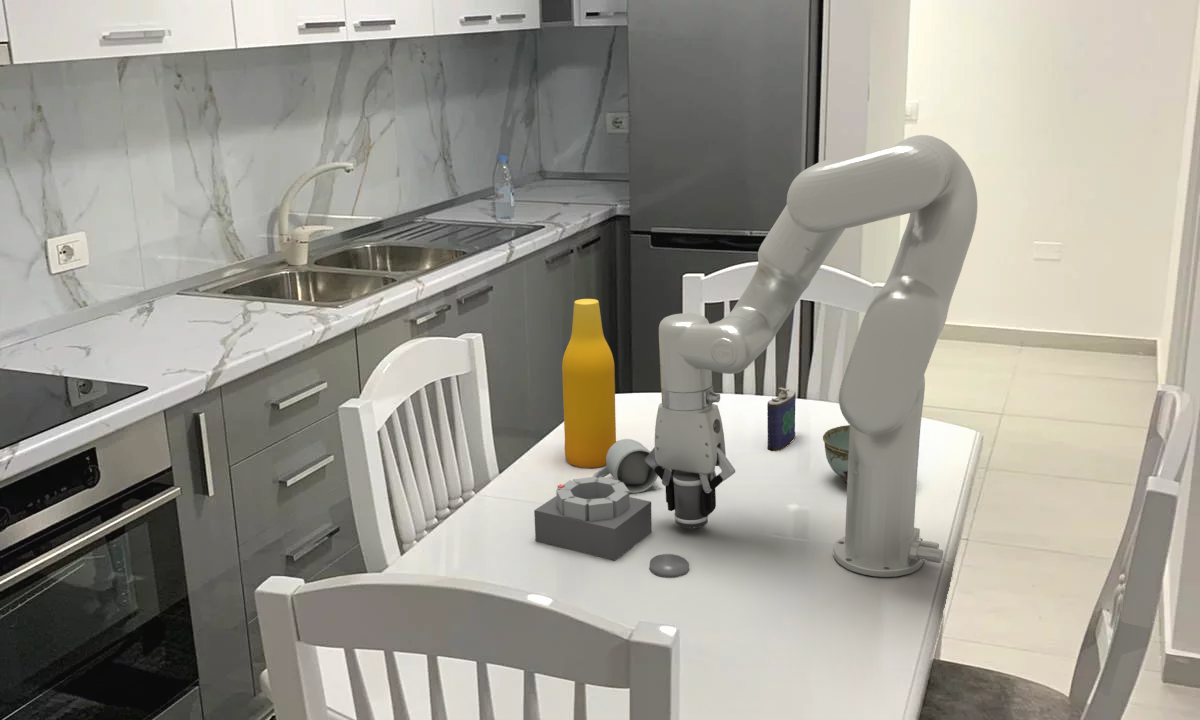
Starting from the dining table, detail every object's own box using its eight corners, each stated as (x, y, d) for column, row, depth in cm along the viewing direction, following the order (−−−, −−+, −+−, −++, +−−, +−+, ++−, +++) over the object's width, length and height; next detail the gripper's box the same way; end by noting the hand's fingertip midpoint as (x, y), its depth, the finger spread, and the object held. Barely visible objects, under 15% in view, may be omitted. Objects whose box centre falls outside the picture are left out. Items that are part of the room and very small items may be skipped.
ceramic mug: (644, 472, 199) (643, 430, 197) (660, 490, 192) (659, 446, 189) (585, 481, 196) (583, 439, 194) (599, 499, 189) (597, 456, 187)
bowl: (853, 504, 184) (855, 457, 182) (805, 476, 196) (806, 432, 194) (921, 489, 189) (924, 443, 187) (871, 462, 201) (873, 419, 199)
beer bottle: (599, 472, 200) (595, 310, 191) (555, 463, 204) (549, 304, 196) (626, 455, 207) (623, 298, 199) (582, 446, 212) (578, 293, 204)
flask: (784, 434, 215) (786, 379, 212) (799, 437, 214) (801, 382, 211) (764, 450, 208) (765, 394, 205) (779, 453, 207) (780, 396, 203)
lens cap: (685, 559, 167) (686, 554, 167) (691, 579, 162) (691, 573, 162) (647, 559, 167) (647, 554, 166) (651, 579, 162) (652, 573, 161)
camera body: (651, 531, 176) (651, 485, 174) (615, 560, 167) (614, 511, 165) (574, 514, 183) (572, 469, 181) (535, 540, 174) (533, 493, 172)
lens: (713, 517, 177) (712, 469, 175) (699, 530, 173) (697, 481, 171) (684, 512, 180) (682, 464, 177) (668, 524, 175) (666, 475, 173)
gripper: (750, 396, 170) (752, 510, 174) (648, 384, 178) (653, 493, 183) (728, 411, 163) (731, 529, 168) (624, 398, 172) (630, 510, 177)
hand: (691, 509), depth 176 cm, fingers closed on lens, 5 cm apart
